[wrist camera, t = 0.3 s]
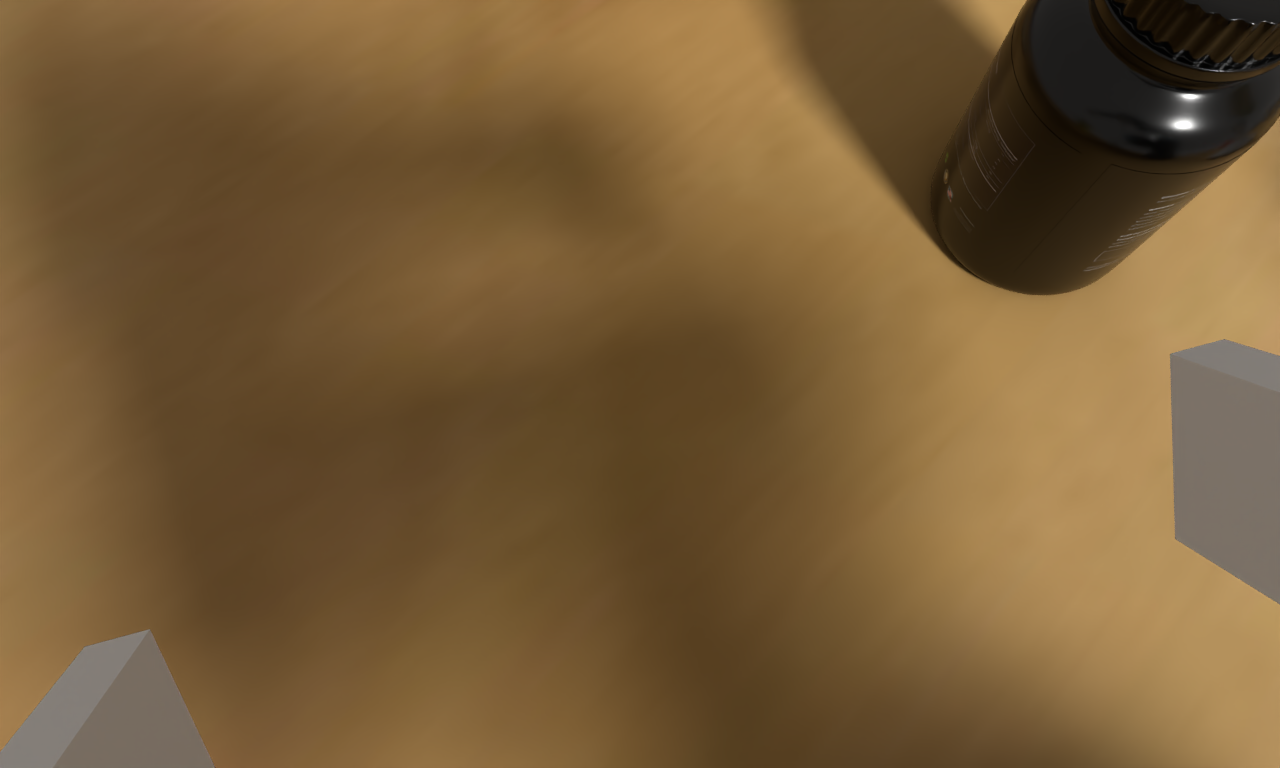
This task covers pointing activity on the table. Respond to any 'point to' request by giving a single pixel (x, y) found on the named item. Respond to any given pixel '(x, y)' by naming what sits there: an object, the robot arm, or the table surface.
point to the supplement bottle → (1101, 132)
